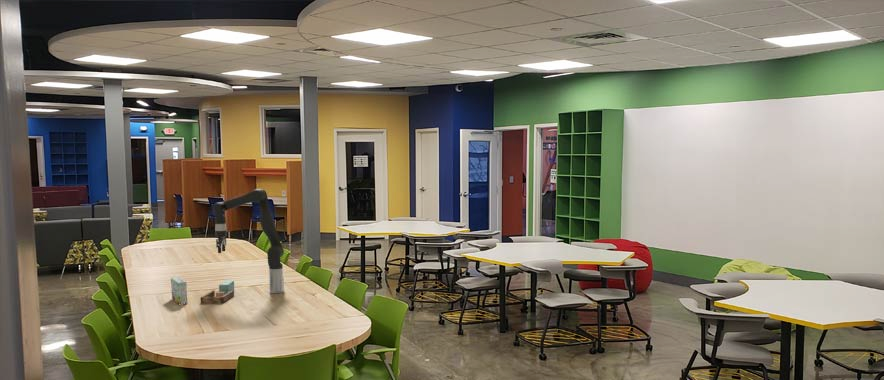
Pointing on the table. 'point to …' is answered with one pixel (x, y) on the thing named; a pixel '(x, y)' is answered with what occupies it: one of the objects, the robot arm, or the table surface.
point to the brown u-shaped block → (211, 299)
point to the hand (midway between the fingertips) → (221, 252)
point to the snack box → (179, 290)
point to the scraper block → (226, 286)
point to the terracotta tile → (220, 293)
